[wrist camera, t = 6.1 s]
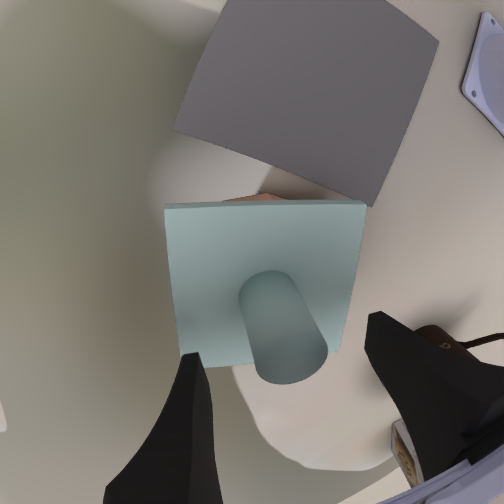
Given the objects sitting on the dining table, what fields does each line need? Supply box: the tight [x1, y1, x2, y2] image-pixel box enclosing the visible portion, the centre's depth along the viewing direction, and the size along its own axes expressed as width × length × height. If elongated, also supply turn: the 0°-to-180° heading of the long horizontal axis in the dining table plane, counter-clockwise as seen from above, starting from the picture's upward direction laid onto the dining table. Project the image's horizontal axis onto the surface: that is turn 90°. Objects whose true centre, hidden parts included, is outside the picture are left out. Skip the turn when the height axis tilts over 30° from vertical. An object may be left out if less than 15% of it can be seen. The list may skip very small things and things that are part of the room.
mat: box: [172, 0, 439, 207], centre depth 14 cm, size 12×12×1 cm
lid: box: [164, 200, 367, 384], centre depth 14 cm, size 9×9×5 cm
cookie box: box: [392, 419, 435, 504], centre depth 26 cm, size 9×6×16 cm
